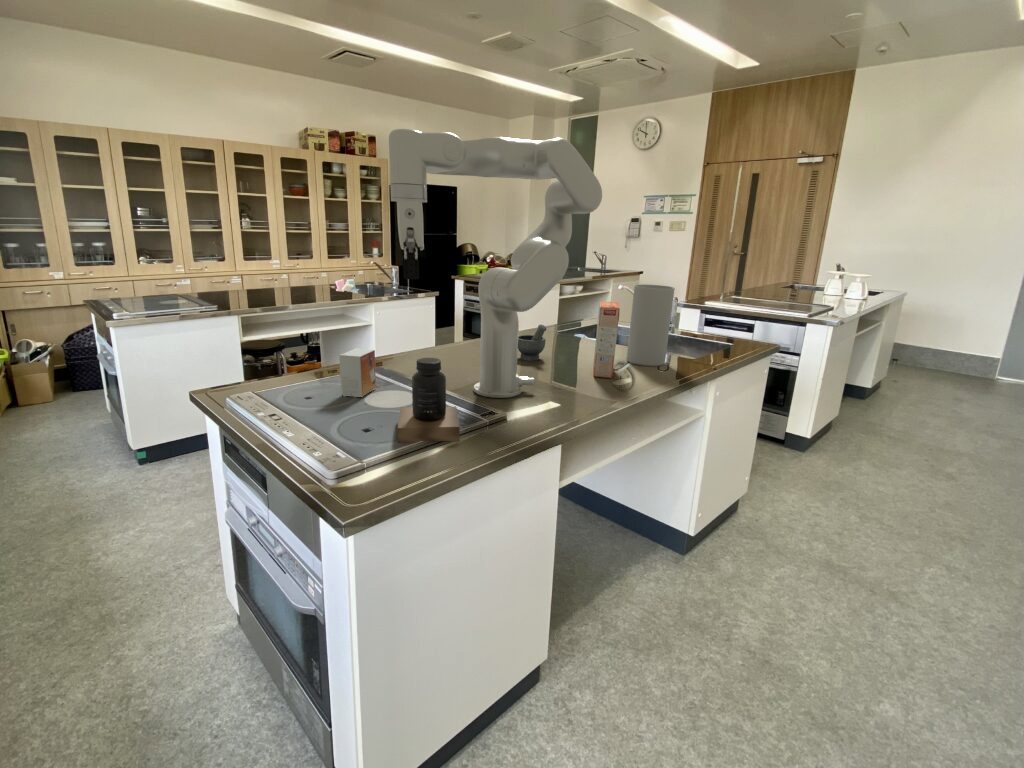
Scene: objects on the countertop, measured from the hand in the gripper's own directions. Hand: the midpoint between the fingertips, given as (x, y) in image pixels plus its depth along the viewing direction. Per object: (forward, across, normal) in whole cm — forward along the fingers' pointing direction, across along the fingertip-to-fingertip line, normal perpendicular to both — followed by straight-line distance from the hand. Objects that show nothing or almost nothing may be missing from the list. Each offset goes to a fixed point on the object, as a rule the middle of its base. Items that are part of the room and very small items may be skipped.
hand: (411, 276), depth 113 cm
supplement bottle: (+27, -17, -3) cm, 32 cm away
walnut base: (+30, -17, -2) cm, 34 cm away
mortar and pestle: (+31, +43, -39) cm, 65 cm away
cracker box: (+31, +25, -57) cm, 70 cm away
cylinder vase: (+31, +36, -77) cm, 90 cm away
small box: (+30, +10, +13) cm, 34 cm away
